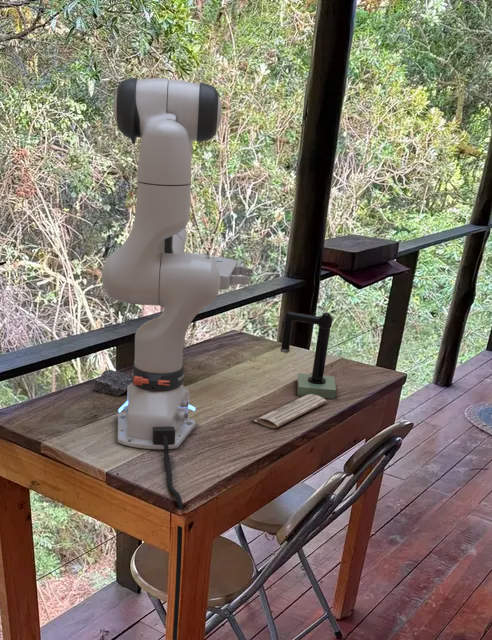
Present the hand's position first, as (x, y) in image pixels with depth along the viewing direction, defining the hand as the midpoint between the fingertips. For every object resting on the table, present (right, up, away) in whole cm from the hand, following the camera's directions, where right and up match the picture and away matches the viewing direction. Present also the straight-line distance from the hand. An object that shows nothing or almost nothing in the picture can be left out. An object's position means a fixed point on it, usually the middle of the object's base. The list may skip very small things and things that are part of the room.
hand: (250, 276), depth 195 cm
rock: (-36, -29, +3) cm, 46 cm away
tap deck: (+19, -28, +10) cm, 35 cm away
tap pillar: (+19, -26, +8) cm, 33 cm away
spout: (+15, -19, +7) cm, 25 cm away
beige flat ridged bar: (+10, -37, -5) cm, 38 cm away
